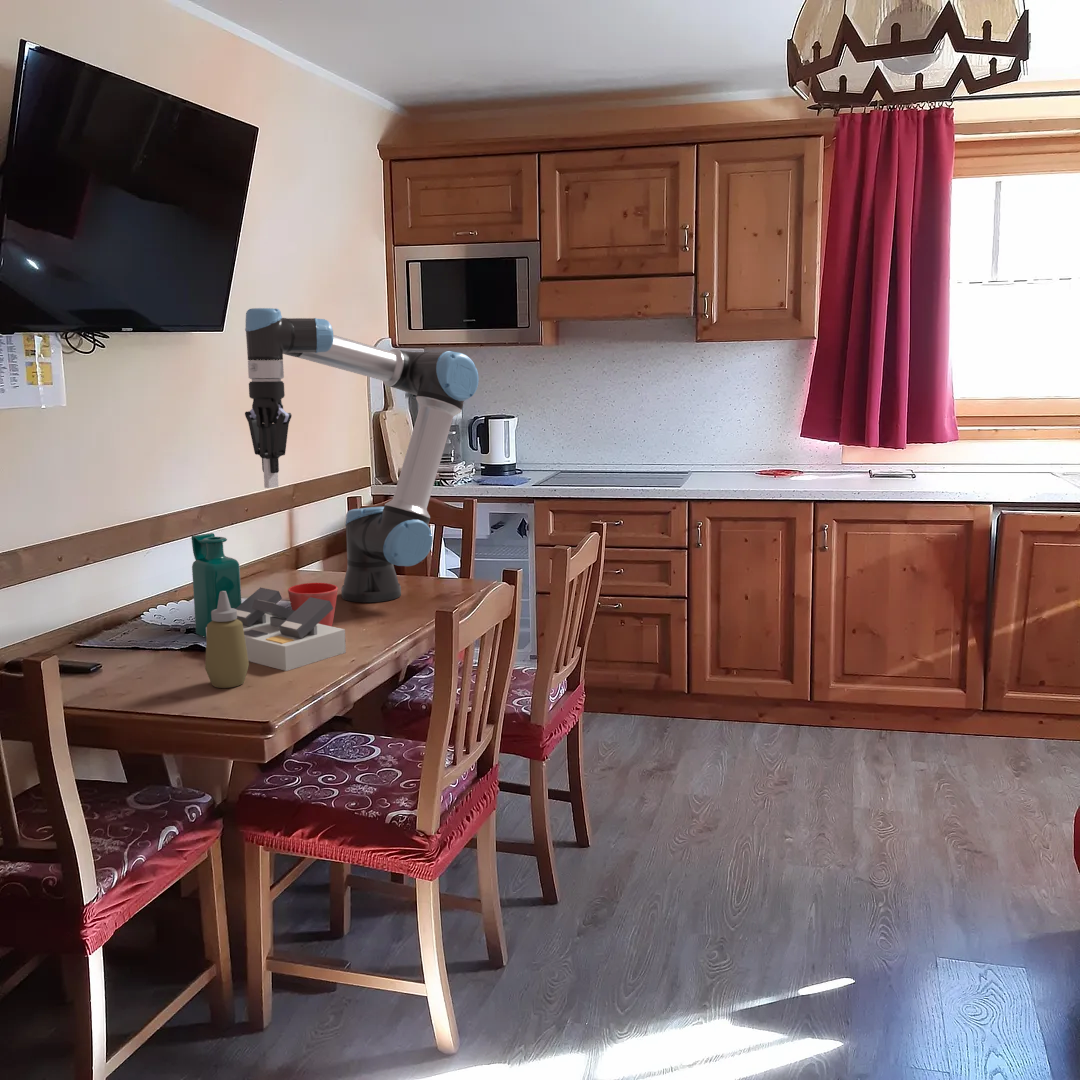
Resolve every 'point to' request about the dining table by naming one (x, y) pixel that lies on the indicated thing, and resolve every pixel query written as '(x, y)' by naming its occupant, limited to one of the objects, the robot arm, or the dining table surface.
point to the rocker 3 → (305, 617)
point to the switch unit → (290, 644)
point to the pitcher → (212, 578)
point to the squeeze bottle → (225, 646)
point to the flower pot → (314, 590)
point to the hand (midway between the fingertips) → (271, 487)
